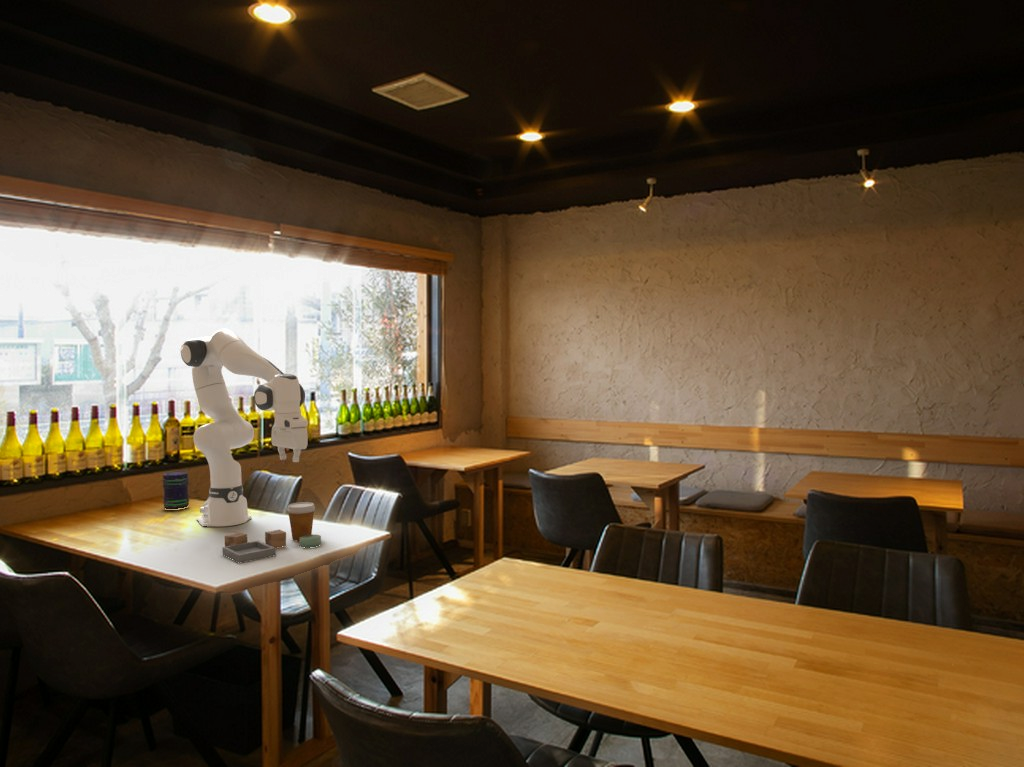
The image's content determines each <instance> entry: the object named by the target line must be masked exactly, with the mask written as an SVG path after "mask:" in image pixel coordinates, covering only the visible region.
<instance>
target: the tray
mask: <svg viewBox="0 0 1024 767" xmlns="http://www.w3.org/2000/svg"><path fill="white" fill-rule="evenodd" d="M221 548H222V550H221V551H222V554H223V555H222V554H221V555H222V556H224V555H225V556H224V557H226V556H227V557H226V558H228V557H229V558H228V559H230V558H231V559H230V560H232V559H233V560H232V561H234V562H236V561H237V562H236V563H238V562H239V563H238V564H241V563H240V562H242V563H246V562H245V561H247V562H251V561H250V560H252V561H256V560H255V559H257V560H261V558H262V559H265V557H266V558H270V557H269V556H271V557H274V556H273V555H277V554H276V552H277V551H276V550H277V549H275V547H272V546H270V545H268V544H265V542H262V541H261V540H252V541H249V542H248V541H247V543H242V544H237V545H232V546H226V547H225V546H223V547H221Z"/></svg>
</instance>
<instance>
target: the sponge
mask: <svg viewBox="0 0 1024 767" xmlns="http://www.w3.org/2000/svg"><path fill="white" fill-rule="evenodd" d="M299 539H300V541H299V547H300V546H301V547H305V548H304V549H311V548H310V547H315V548H317V547H316V546H319V545H321V546H322V535H320V534H312V535H304V536H301V537H300V538H299ZM301 547H300V548H301ZM319 547H320V546H319Z"/></svg>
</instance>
